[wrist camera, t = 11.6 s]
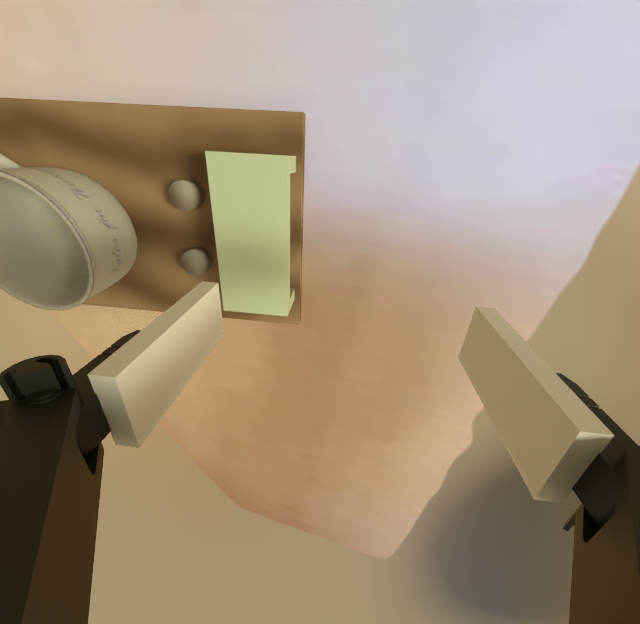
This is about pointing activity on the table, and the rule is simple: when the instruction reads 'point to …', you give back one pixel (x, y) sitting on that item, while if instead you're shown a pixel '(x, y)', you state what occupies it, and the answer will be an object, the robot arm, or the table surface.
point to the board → (159, 182)
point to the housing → (252, 229)
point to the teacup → (60, 236)
